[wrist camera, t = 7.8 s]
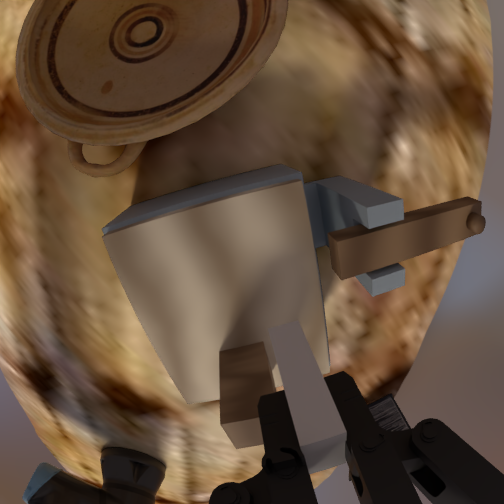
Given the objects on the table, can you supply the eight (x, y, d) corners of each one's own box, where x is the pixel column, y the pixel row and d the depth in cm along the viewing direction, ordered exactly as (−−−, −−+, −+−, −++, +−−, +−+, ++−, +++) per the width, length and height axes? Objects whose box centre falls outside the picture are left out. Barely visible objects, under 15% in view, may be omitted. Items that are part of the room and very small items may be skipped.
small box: (346, 430, 47) (361, 470, 38) (340, 416, 45) (357, 460, 35) (393, 407, 47) (413, 445, 37) (391, 392, 44) (414, 432, 34)
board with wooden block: (188, 395, 28) (183, 467, 19) (107, 231, 21) (49, 286, 12) (326, 364, 28) (355, 432, 19) (297, 178, 21) (348, 206, 12)
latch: (332, 268, 22) (347, 288, 19) (327, 232, 21) (343, 248, 18) (466, 226, 22) (488, 237, 19) (467, 196, 21) (490, 205, 18)
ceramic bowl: (104, -52, 14) (83, -81, 7) (297, -41, 18) (315, -77, 11) (33, 158, 24) (-11, 168, 17) (234, 189, 28) (238, 206, 21)
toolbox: (191, 352, 35) (184, 426, 24) (130, 206, 28) (80, 246, 17) (354, 310, 35) (396, 371, 24) (335, 152, 28) (399, 163, 17)
